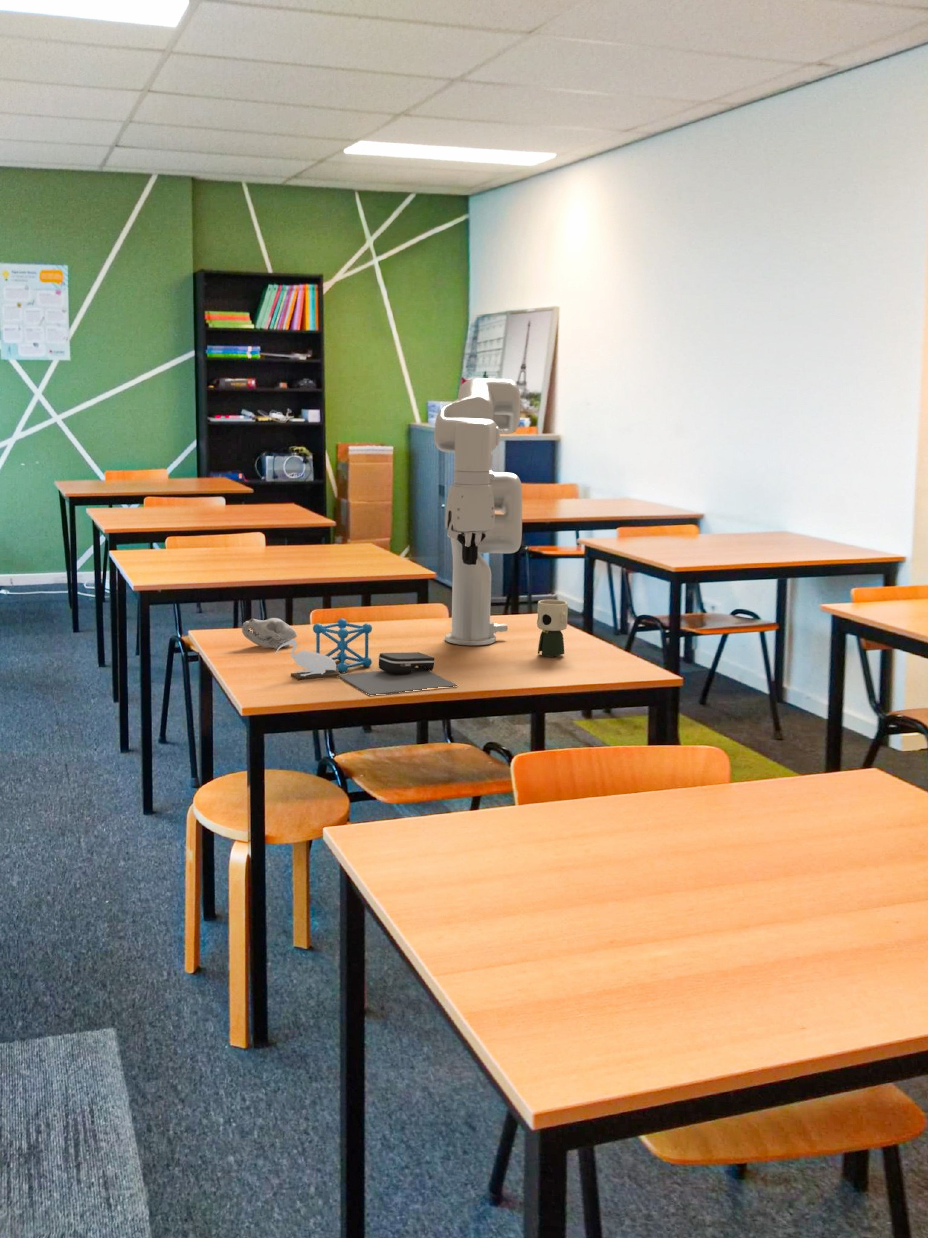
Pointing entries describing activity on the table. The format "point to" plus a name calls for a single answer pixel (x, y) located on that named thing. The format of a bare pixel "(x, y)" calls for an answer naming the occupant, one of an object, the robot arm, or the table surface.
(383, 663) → the battery charger
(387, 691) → the mat
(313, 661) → the figurine
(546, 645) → the character mug
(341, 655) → the molecular structure
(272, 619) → the skull
